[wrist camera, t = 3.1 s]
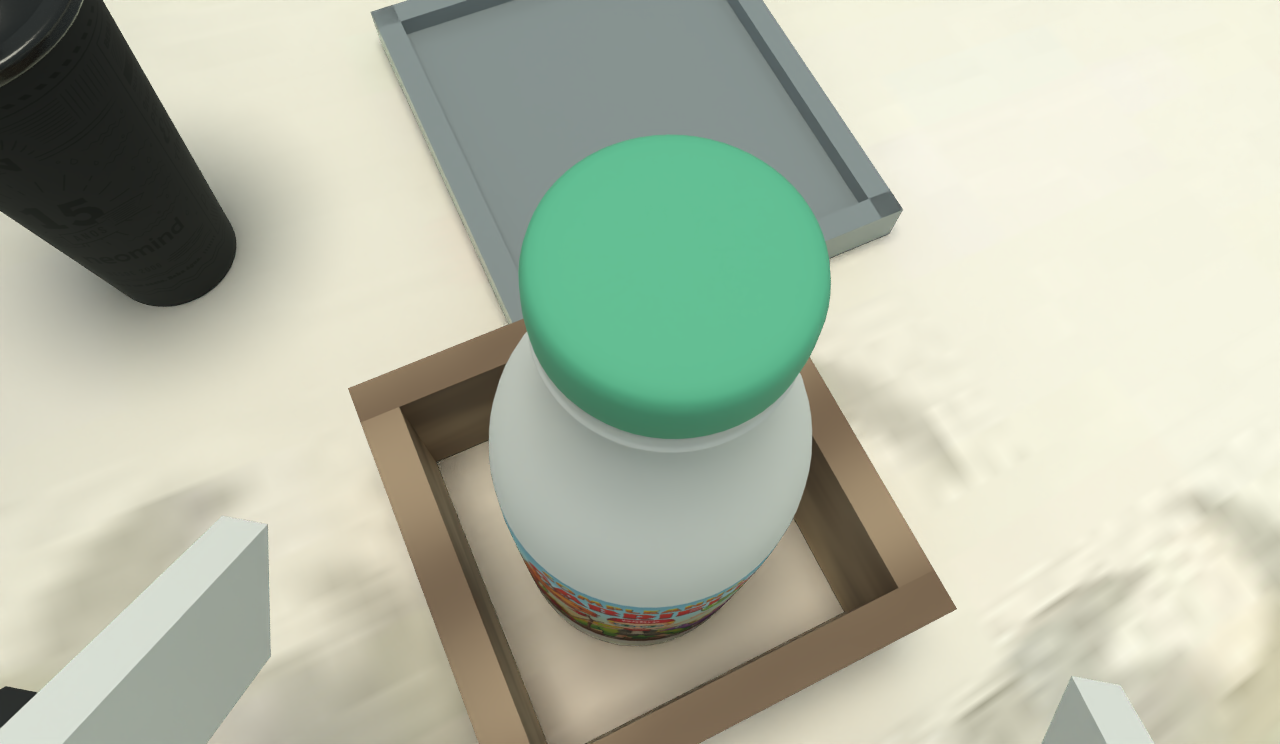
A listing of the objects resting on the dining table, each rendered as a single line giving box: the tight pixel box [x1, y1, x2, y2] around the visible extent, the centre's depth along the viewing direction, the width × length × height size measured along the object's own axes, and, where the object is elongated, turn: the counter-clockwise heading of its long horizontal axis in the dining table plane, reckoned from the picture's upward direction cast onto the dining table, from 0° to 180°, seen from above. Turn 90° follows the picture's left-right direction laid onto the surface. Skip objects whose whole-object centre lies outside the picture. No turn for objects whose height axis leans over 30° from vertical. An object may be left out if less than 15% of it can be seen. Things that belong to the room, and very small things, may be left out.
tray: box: [371, 0, 903, 324], centre depth 36 cm, size 18×16×2 cm
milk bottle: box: [489, 134, 831, 646], centre depth 21 cm, size 8×8×20 cm
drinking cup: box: [0, 0, 236, 306], centre depth 25 cm, size 8×8×20 cm
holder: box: [348, 319, 957, 744], centre depth 28 cm, size 13×13×6 cm
